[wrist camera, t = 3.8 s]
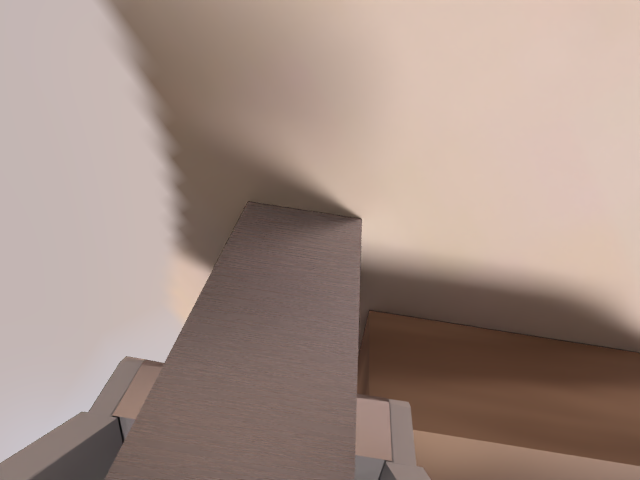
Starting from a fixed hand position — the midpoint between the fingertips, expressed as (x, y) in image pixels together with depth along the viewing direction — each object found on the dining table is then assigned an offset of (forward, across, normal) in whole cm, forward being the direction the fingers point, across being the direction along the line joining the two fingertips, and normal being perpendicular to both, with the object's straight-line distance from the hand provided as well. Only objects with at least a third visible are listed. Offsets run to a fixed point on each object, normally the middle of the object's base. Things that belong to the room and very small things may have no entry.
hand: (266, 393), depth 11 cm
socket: (+6, -9, +9) cm, 14 cm away
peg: (+6, 0, 0) cm, 6 cm away
